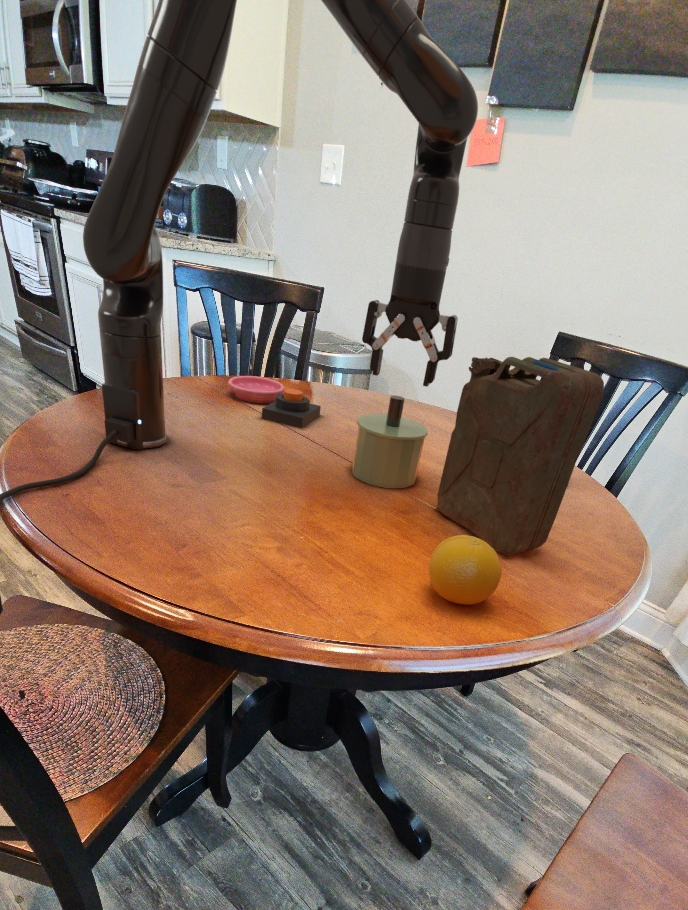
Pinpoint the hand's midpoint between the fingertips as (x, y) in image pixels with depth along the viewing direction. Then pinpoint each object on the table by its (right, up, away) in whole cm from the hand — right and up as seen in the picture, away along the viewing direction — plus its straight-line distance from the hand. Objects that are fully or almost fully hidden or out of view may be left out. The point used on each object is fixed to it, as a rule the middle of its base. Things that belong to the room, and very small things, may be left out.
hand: (401, 380), depth 96 cm
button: (-20, +8, +28) cm, 35 cm away
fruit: (+5, -37, -21) cm, 43 cm away
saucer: (-29, +13, +38) cm, 50 cm away
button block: (-21, +5, +30) cm, 37 cm away
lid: (-1, -6, +5) cm, 8 cm away
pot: (-2, -13, +10) cm, 16 cm away
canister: (+13, -25, -3) cm, 29 cm away
